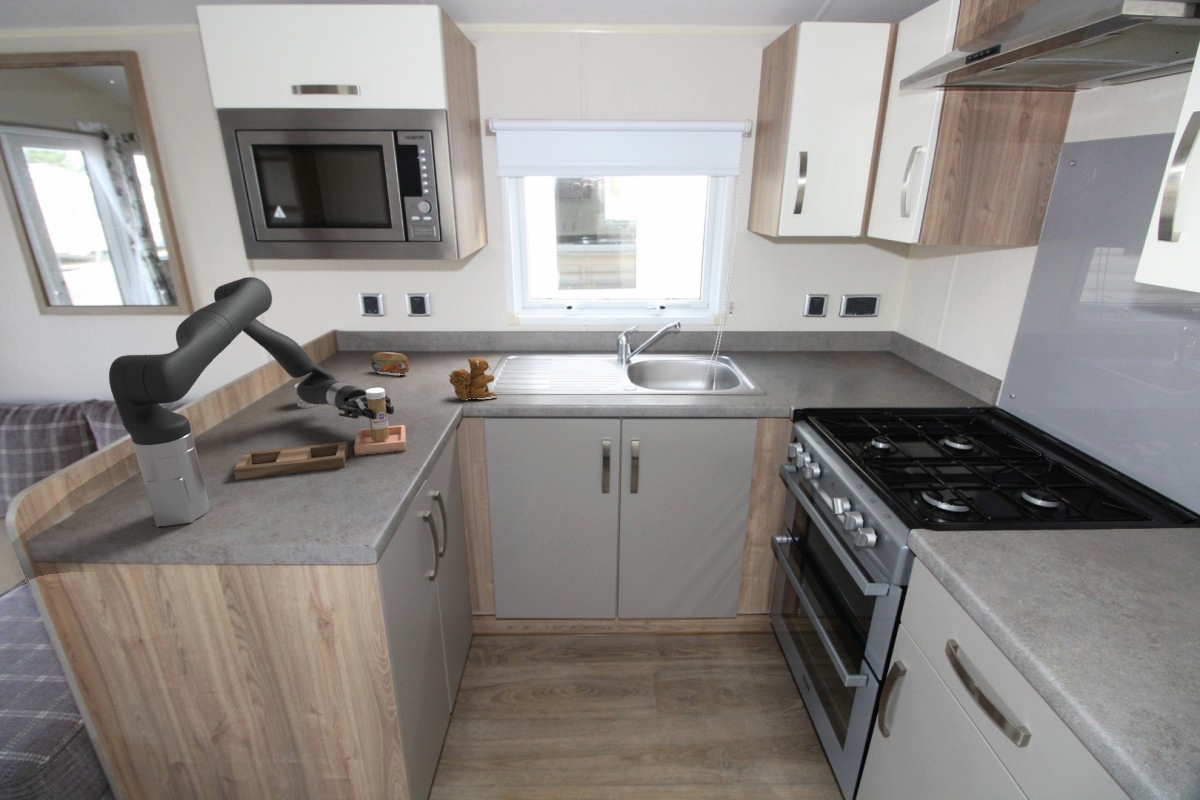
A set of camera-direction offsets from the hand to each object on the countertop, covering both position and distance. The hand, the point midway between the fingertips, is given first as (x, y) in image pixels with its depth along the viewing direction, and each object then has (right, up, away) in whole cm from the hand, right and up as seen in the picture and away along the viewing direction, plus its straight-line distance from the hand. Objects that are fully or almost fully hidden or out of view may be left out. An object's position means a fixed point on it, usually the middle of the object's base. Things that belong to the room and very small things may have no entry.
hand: (383, 412), depth 145 cm
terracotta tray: (-2, -8, +5) cm, 10 cm away
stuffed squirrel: (+14, +4, +41) cm, 44 cm away
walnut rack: (-19, -12, -7) cm, 24 cm away
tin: (-21, +12, +64) cm, 69 cm away
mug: (-35, +2, +34) cm, 49 cm away
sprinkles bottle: (-2, -7, +4) cm, 8 cm away
